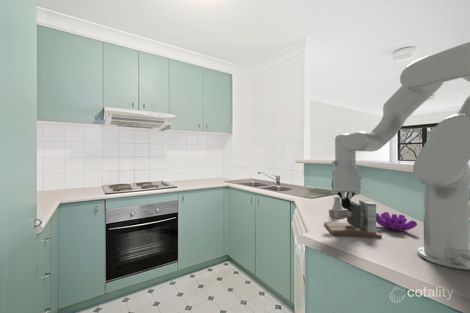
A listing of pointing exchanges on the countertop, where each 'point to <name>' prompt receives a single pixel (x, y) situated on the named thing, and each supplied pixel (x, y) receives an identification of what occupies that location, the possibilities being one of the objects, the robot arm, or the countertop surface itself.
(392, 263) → the countertop surface
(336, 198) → the flask
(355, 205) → the dark grey square panel
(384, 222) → the purple lumpy piece
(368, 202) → the pipe stand
